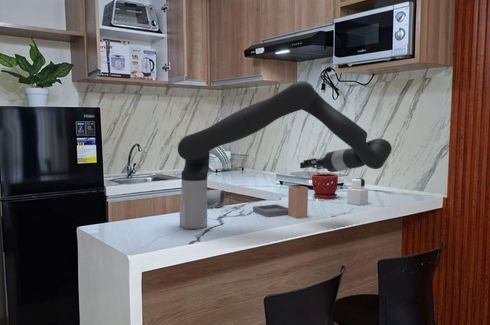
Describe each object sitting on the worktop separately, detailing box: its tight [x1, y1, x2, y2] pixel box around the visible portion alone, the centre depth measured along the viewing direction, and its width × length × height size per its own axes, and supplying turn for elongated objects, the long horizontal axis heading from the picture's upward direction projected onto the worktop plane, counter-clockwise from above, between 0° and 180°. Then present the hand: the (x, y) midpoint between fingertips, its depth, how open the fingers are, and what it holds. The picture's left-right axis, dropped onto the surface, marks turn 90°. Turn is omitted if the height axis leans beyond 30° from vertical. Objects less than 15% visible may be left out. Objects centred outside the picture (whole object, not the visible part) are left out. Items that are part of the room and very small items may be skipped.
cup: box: [287, 185, 309, 219], centre depth 174 cm, size 6×6×12 cm
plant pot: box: [311, 173, 339, 200], centre depth 219 cm, size 13×13×12 cm
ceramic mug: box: [207, 189, 226, 210], centre depth 193 cm, size 11×8×8 cm
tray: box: [252, 203, 288, 218], centre depth 180 cm, size 12×12×2 cm
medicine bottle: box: [346, 178, 369, 206], centre depth 203 cm, size 7×7×12 cm
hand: (308, 166), depth 167 cm, fingers open, 8 cm apart
